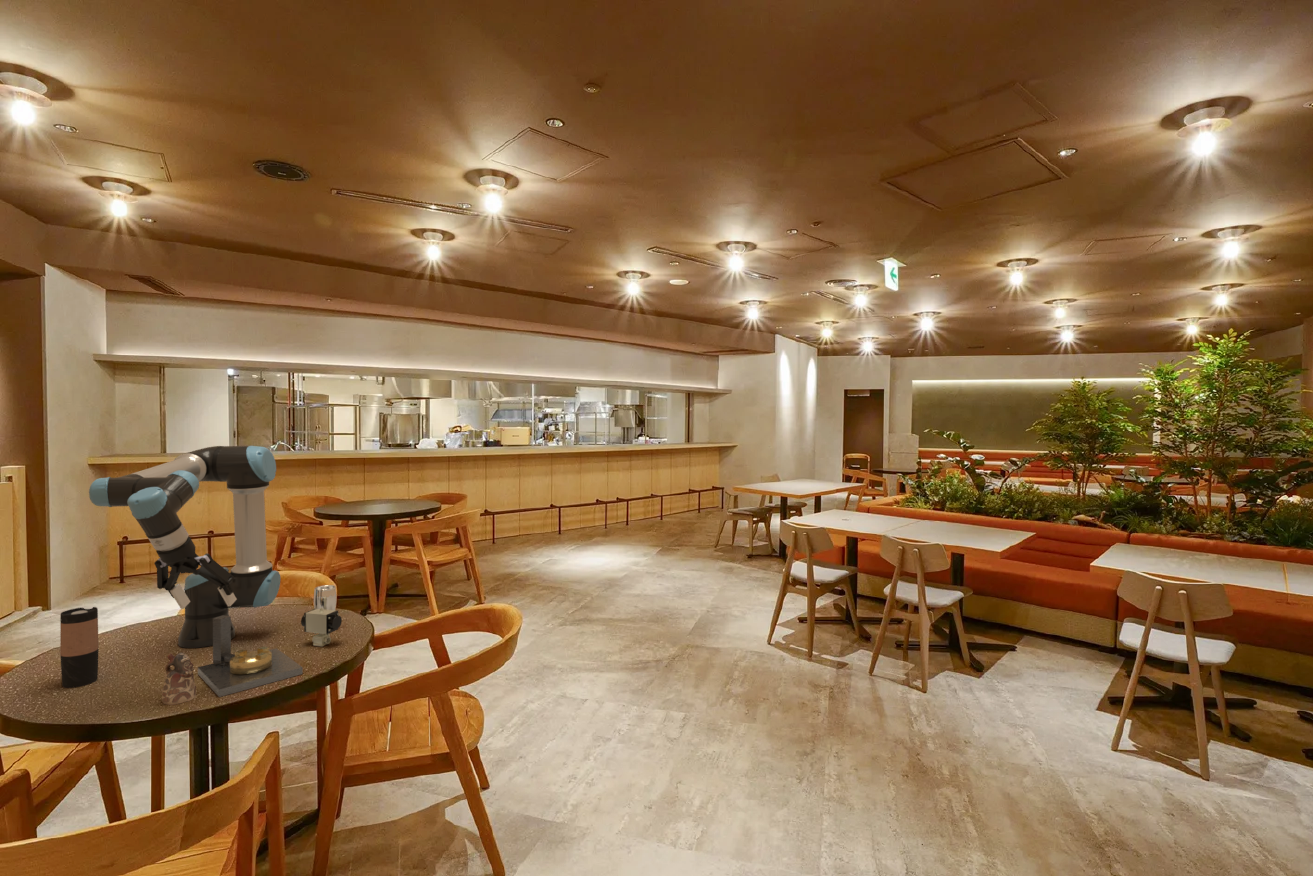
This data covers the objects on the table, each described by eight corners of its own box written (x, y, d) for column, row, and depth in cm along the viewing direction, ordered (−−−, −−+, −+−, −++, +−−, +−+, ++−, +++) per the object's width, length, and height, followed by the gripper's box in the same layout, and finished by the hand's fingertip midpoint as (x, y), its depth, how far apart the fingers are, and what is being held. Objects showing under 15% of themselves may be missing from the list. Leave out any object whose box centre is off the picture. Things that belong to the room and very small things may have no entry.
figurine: (184, 704, 155) (184, 658, 155) (154, 705, 155) (154, 658, 154) (202, 692, 162) (202, 647, 162) (174, 693, 162) (174, 648, 161)
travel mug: (66, 690, 162) (65, 616, 162) (56, 684, 167) (55, 612, 166) (103, 680, 169) (102, 609, 169) (93, 674, 173) (92, 605, 173)
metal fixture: (201, 668, 172) (200, 622, 172) (234, 655, 182) (234, 611, 182) (248, 676, 167) (248, 628, 167) (280, 662, 177) (280, 617, 177)
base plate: (197, 674, 174) (197, 666, 174) (276, 654, 189) (276, 647, 189) (219, 697, 159) (219, 688, 159) (302, 674, 175) (302, 666, 174)
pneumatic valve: (331, 648, 194) (331, 611, 194) (300, 646, 197) (300, 609, 196) (344, 642, 200) (344, 606, 199) (313, 640, 202) (313, 604, 202)
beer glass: (332, 625, 217) (332, 583, 216) (339, 630, 212) (339, 587, 211) (311, 629, 212) (311, 587, 212) (317, 634, 207) (317, 591, 207)
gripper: (115, 555, 154) (156, 616, 165) (208, 549, 153) (243, 611, 163) (138, 536, 161) (176, 596, 171) (227, 531, 159) (260, 592, 169)
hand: (209, 604), depth 167 cm, fingers open, 13 cm apart
